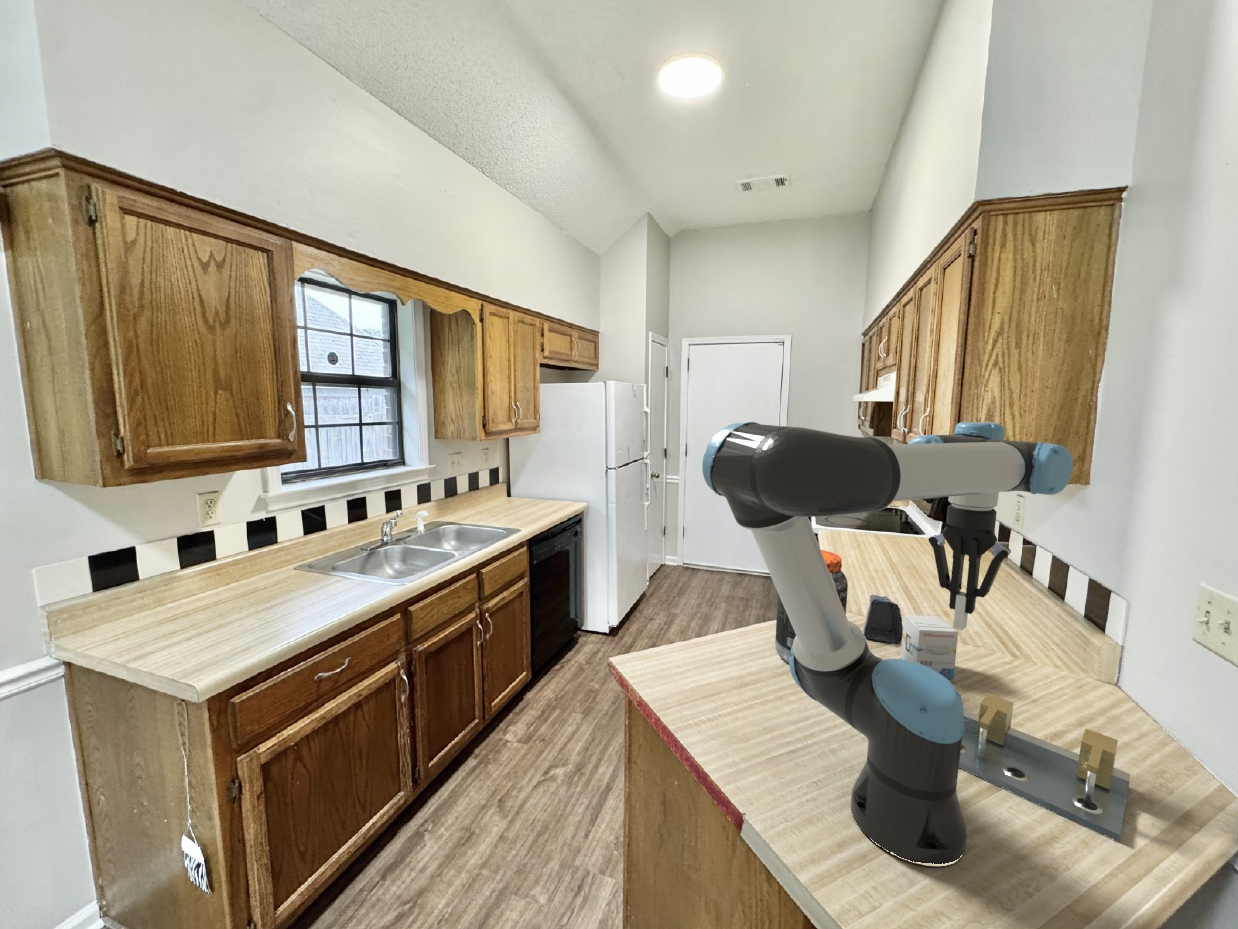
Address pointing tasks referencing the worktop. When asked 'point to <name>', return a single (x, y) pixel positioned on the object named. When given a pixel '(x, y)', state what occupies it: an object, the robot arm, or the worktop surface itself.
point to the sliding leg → (993, 721)
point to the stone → (883, 620)
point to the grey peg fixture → (1054, 774)
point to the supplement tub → (783, 624)
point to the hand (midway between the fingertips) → (959, 627)
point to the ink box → (930, 643)
